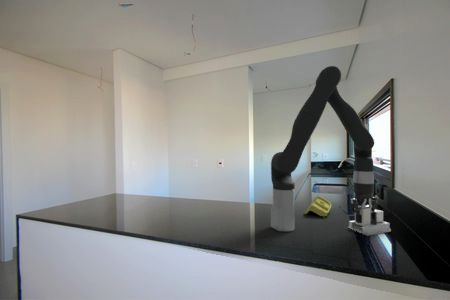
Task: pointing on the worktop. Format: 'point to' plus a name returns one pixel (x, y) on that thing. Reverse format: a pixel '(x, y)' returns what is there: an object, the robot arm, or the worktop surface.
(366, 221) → the block
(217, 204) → the worktop surface
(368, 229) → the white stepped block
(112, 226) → the worktop surface
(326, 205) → the plastic component
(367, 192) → the robot arm
